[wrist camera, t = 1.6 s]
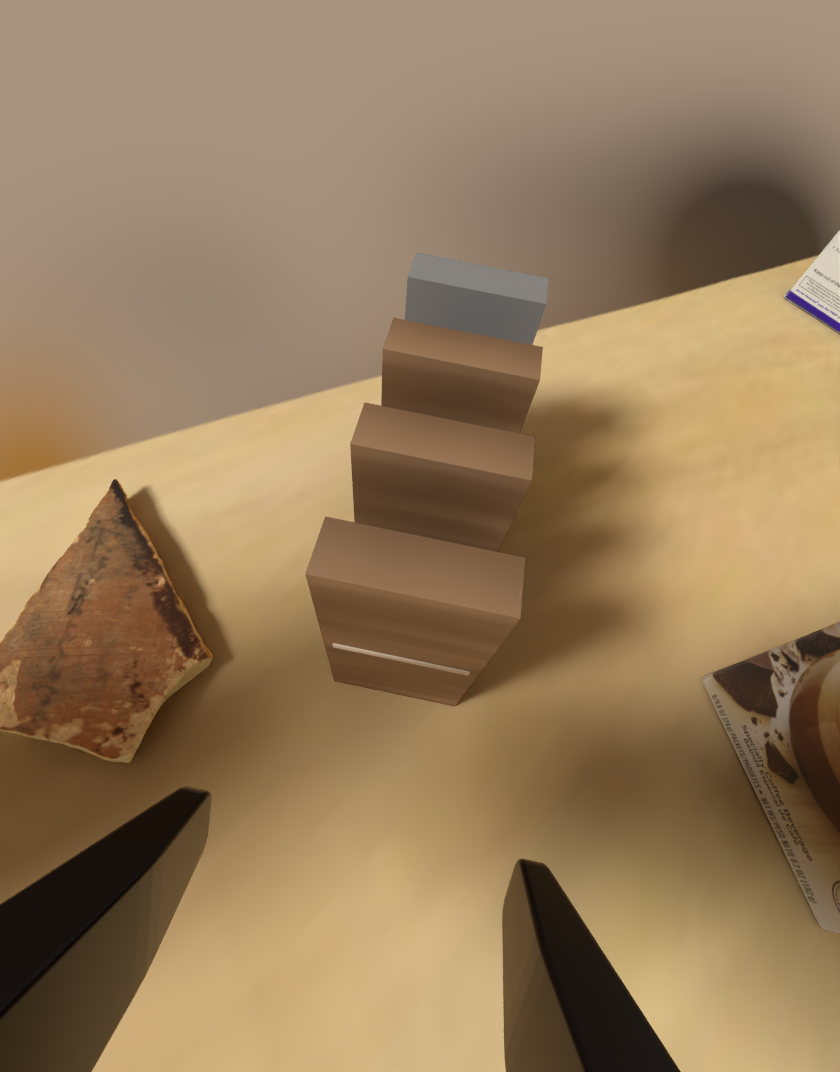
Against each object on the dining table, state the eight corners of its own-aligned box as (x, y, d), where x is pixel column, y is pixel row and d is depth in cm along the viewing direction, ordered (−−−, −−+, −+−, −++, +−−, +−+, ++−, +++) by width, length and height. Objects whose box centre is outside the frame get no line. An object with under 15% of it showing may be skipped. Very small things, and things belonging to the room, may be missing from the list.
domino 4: (454, 707, 20) (520, 620, 11) (333, 682, 20) (305, 575, 11) (460, 666, 20) (525, 555, 12) (344, 642, 20) (325, 514, 12)
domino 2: (478, 540, 24) (539, 381, 15) (378, 519, 24) (382, 349, 15) (482, 512, 24) (542, 345, 16) (385, 492, 25) (394, 316, 16)
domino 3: (467, 616, 22) (532, 482, 13) (358, 593, 22) (350, 445, 13) (472, 582, 22) (535, 435, 14) (367, 560, 22) (364, 401, 14)
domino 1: (487, 476, 26) (546, 304, 17) (395, 458, 26) (407, 277, 17) (490, 452, 26) (548, 277, 18) (401, 434, 27) (416, 251, 18)
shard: (127, 496, 24) (111, 473, 22) (277, 532, 23) (271, 512, 22) (-25, 724, 18) (-62, 715, 17) (168, 776, 18) (149, 772, 16)
